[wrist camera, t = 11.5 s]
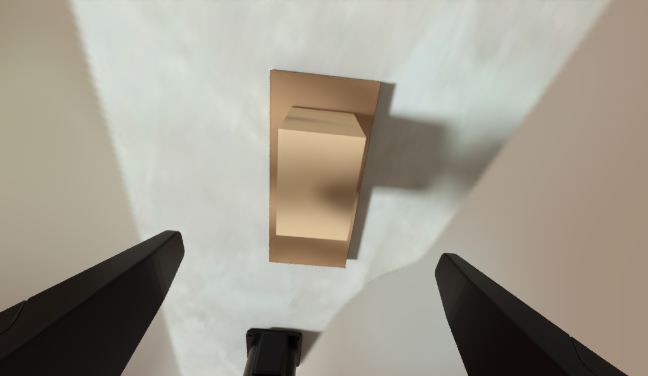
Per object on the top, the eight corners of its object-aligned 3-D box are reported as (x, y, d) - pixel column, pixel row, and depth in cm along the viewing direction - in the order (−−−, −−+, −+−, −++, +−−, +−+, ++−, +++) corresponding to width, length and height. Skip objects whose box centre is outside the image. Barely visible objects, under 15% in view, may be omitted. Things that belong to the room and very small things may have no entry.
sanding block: (340, 190, 20) (346, 240, 14) (289, 186, 19) (276, 235, 14) (352, 112, 17) (365, 137, 11) (292, 105, 17) (278, 128, 11)
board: (344, 258, 24) (344, 268, 23) (271, 252, 24) (269, 262, 23) (377, 81, 17) (380, 82, 16) (273, 69, 17) (269, 70, 16)
